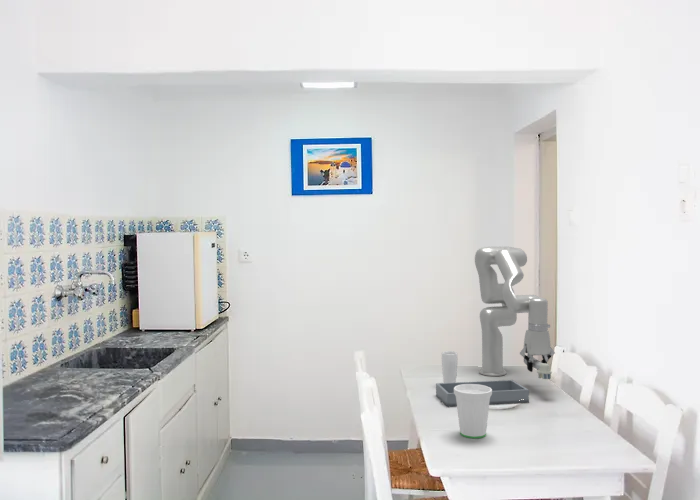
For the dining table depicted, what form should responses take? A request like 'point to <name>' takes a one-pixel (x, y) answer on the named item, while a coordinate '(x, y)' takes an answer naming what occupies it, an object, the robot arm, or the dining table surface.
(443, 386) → the bin
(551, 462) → the dining table surface
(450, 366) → the drinking glass
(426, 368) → the dining table surface
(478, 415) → the cup
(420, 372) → the dining table surface
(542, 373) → the white electric toothbrush
